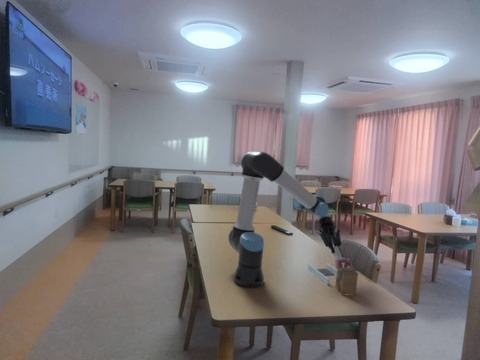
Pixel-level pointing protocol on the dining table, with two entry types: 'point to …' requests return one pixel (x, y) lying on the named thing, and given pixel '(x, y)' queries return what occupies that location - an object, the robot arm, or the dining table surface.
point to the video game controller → (344, 260)
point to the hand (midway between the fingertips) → (338, 258)
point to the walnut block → (346, 280)
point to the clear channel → (323, 272)
